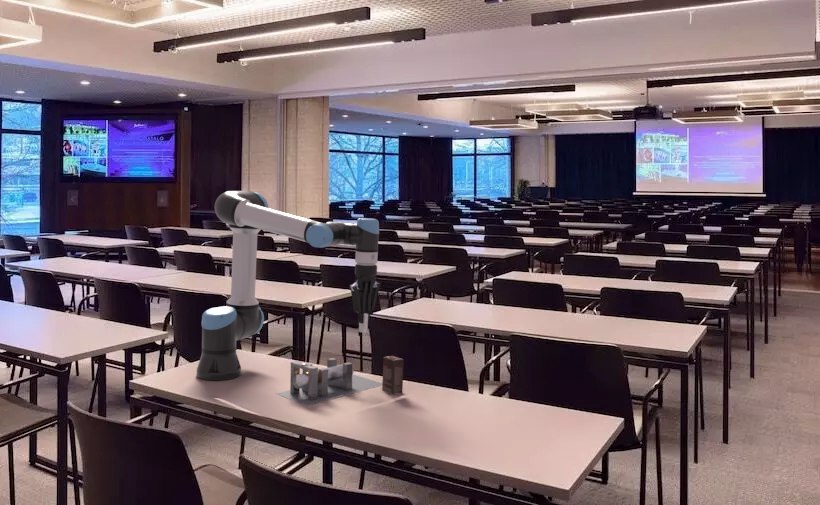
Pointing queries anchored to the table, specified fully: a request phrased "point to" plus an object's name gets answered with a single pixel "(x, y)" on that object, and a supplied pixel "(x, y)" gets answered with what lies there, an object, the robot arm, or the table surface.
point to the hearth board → (333, 391)
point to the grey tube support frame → (346, 381)
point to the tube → (333, 374)
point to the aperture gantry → (311, 383)
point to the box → (392, 375)
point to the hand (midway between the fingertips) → (362, 331)
